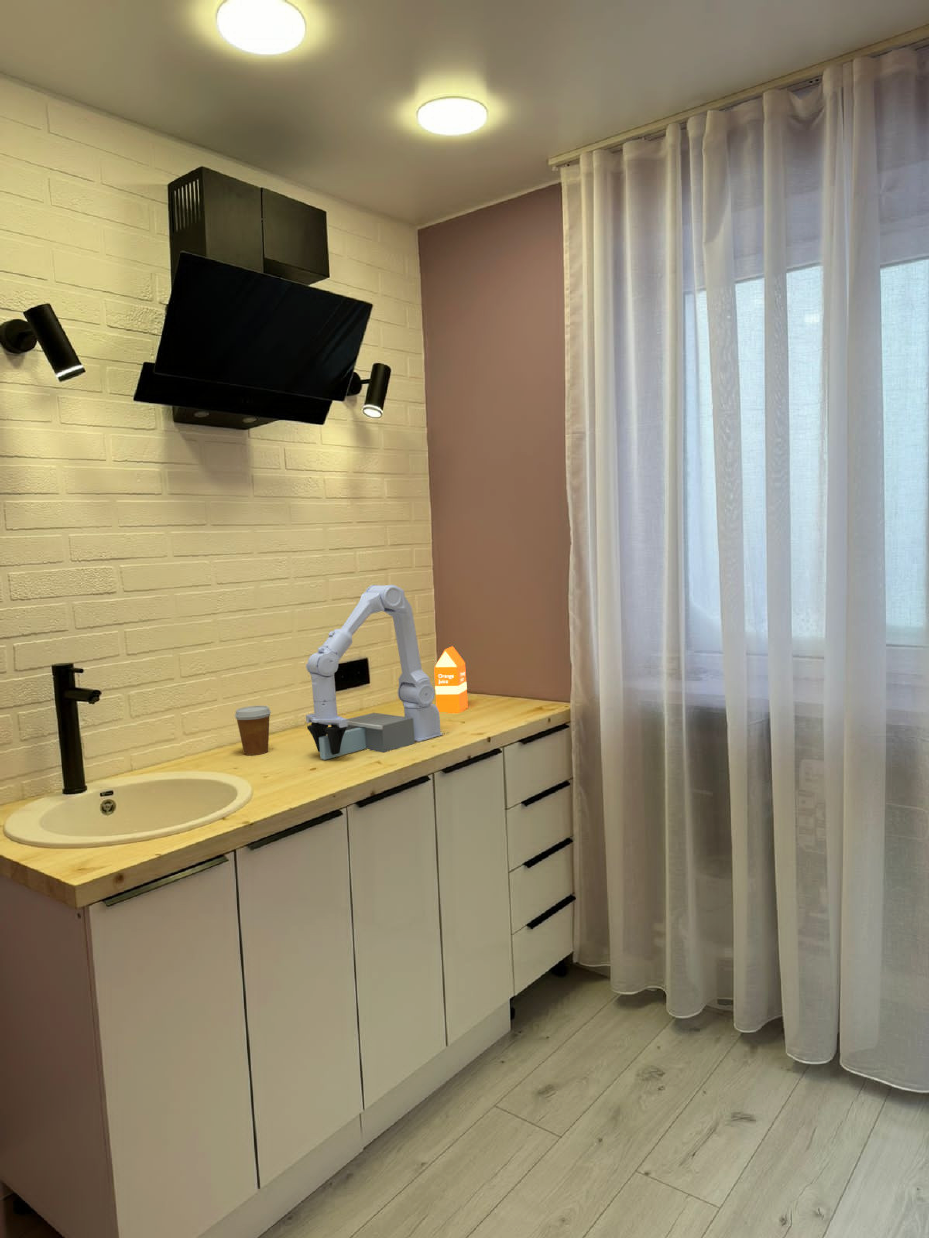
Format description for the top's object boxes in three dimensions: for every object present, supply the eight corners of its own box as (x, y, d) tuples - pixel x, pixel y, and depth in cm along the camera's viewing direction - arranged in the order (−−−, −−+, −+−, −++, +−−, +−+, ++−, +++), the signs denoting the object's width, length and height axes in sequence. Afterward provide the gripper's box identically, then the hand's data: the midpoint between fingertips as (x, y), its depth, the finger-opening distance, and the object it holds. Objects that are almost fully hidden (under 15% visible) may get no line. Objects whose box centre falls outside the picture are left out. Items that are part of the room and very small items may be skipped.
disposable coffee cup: (238, 758, 229) (234, 713, 228) (237, 751, 238) (233, 707, 237) (275, 754, 231) (271, 709, 230) (273, 746, 241) (269, 704, 240)
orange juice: (436, 713, 274) (432, 650, 272) (445, 707, 282) (441, 646, 281) (460, 713, 272) (456, 649, 270) (468, 707, 280) (464, 645, 278)
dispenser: (375, 737, 244) (373, 712, 244) (415, 743, 233) (413, 717, 233) (342, 746, 236) (340, 720, 235) (382, 753, 225) (380, 726, 224)
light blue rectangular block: (362, 746, 232) (361, 726, 231) (367, 747, 231) (366, 727, 230) (320, 758, 222) (318, 737, 221) (325, 759, 220) (323, 738, 220)
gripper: (294, 700, 223) (299, 752, 225) (329, 704, 213) (334, 759, 215) (316, 695, 228) (321, 746, 230) (352, 699, 219) (356, 753, 220)
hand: (328, 752), depth 222 cm, fingers open, 5 cm apart
